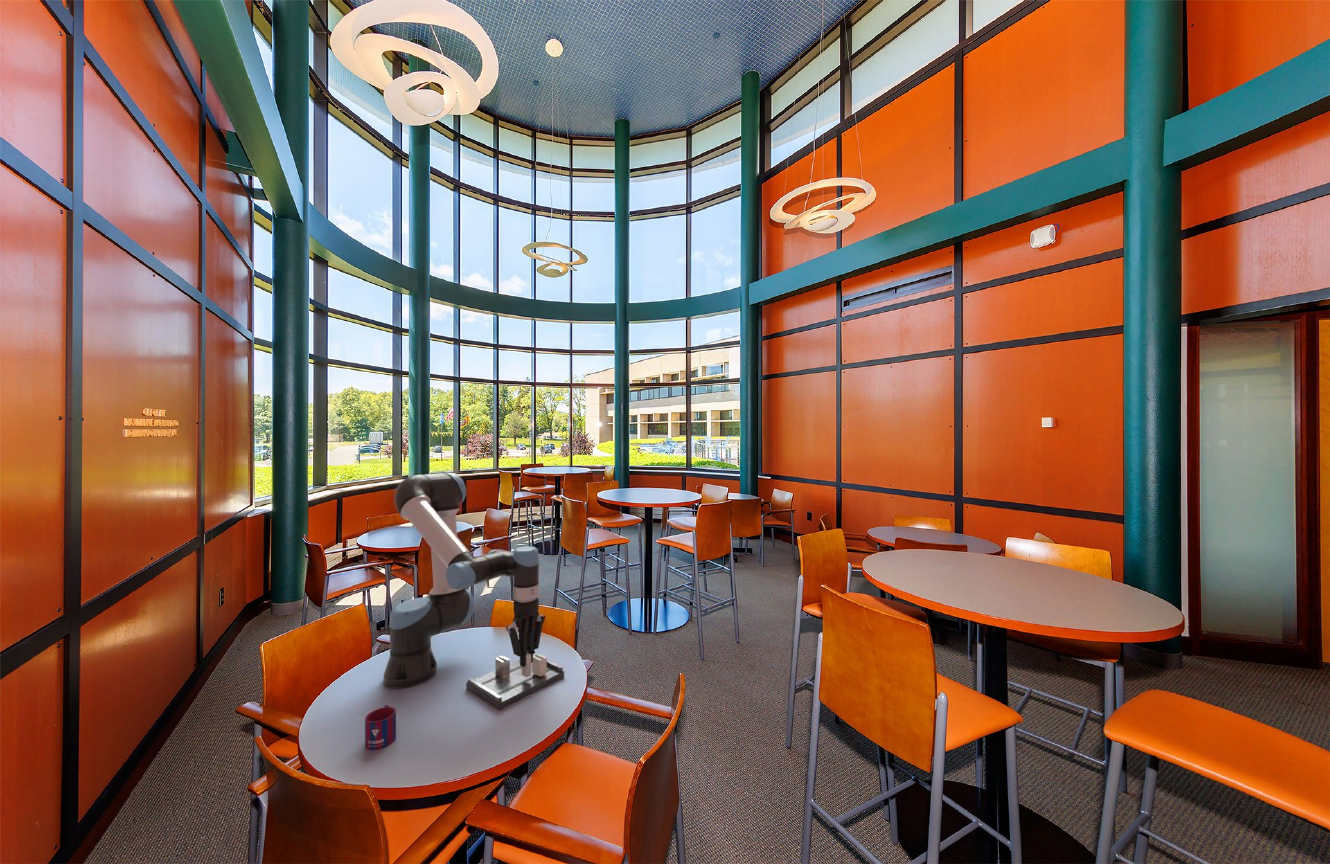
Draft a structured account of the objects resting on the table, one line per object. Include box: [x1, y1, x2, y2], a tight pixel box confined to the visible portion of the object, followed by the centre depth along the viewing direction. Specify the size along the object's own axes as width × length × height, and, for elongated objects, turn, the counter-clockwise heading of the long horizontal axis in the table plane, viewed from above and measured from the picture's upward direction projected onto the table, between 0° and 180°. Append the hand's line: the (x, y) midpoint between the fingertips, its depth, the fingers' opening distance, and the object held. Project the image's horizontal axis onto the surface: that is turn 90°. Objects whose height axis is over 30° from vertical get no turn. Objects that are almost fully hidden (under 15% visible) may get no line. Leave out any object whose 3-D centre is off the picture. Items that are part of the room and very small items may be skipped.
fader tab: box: [532, 653, 548, 676], centre depth 146 cm, size 4×2×5 cm, turn 51°
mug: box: [364, 704, 397, 751], centre depth 119 cm, size 7×10×7 cm
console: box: [465, 653, 565, 711], centre depth 145 cm, size 18×23×7 cm
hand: (526, 675), depth 143 cm, fingers closed
